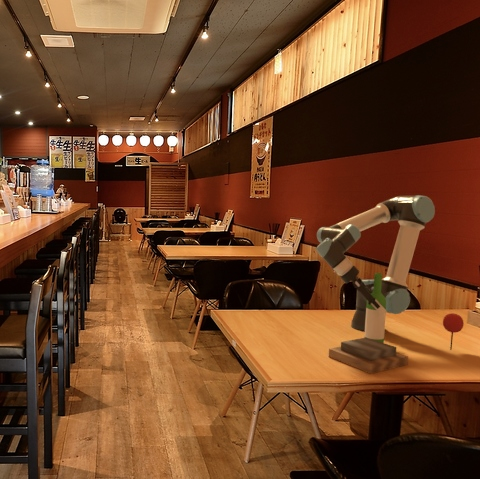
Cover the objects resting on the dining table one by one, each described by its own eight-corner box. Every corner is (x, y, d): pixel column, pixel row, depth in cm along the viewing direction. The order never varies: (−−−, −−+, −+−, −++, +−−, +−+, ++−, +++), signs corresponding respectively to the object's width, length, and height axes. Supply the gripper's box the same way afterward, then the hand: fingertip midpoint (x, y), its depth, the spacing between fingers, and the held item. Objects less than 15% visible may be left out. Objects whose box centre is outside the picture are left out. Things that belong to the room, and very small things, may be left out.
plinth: (364, 349, 185) (365, 334, 185) (407, 364, 169) (408, 348, 169) (328, 356, 174) (329, 340, 174) (371, 373, 158) (372, 356, 157)
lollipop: (460, 353, 185) (463, 316, 184) (439, 350, 189) (442, 313, 188) (462, 349, 192) (464, 313, 191) (441, 345, 195) (444, 310, 194)
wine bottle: (373, 349, 186) (378, 275, 184) (359, 343, 193) (364, 272, 191) (387, 347, 190) (392, 274, 188) (373, 341, 197) (378, 271, 195)
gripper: (338, 272, 204) (372, 310, 203) (340, 280, 181) (378, 323, 179) (351, 261, 203) (386, 299, 201) (355, 268, 179) (393, 310, 178)
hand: (382, 310), depth 190 cm, fingers open, 12 cm apart
